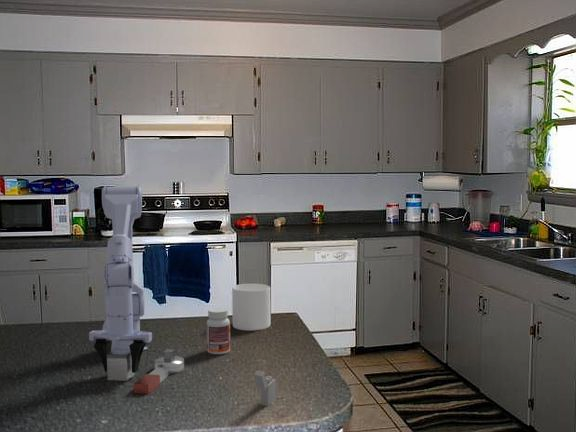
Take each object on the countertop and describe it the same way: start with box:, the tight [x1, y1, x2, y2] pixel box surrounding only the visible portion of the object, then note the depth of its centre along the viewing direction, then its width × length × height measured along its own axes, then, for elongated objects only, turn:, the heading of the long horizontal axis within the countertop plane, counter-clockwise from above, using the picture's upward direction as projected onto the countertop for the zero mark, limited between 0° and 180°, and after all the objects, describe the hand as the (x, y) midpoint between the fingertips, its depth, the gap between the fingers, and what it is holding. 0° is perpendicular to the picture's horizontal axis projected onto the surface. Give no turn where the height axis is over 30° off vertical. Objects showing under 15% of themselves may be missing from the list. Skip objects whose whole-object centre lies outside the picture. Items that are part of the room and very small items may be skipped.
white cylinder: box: [231, 283, 271, 332], centre depth 182 cm, size 12×12×12 cm
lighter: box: [253, 369, 277, 407], centre depth 122 cm, size 7×2×8 cm, turn 157°
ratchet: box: [133, 348, 185, 395], centre depth 138 cm, size 19×7×5 cm, turn 168°
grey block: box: [106, 348, 136, 382], centre depth 139 cm, size 5×5×6 cm
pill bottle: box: [206, 307, 231, 355], centre depth 157 cm, size 6×6×11 cm
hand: (121, 370), depth 139 cm, fingers open, 6 cm apart
